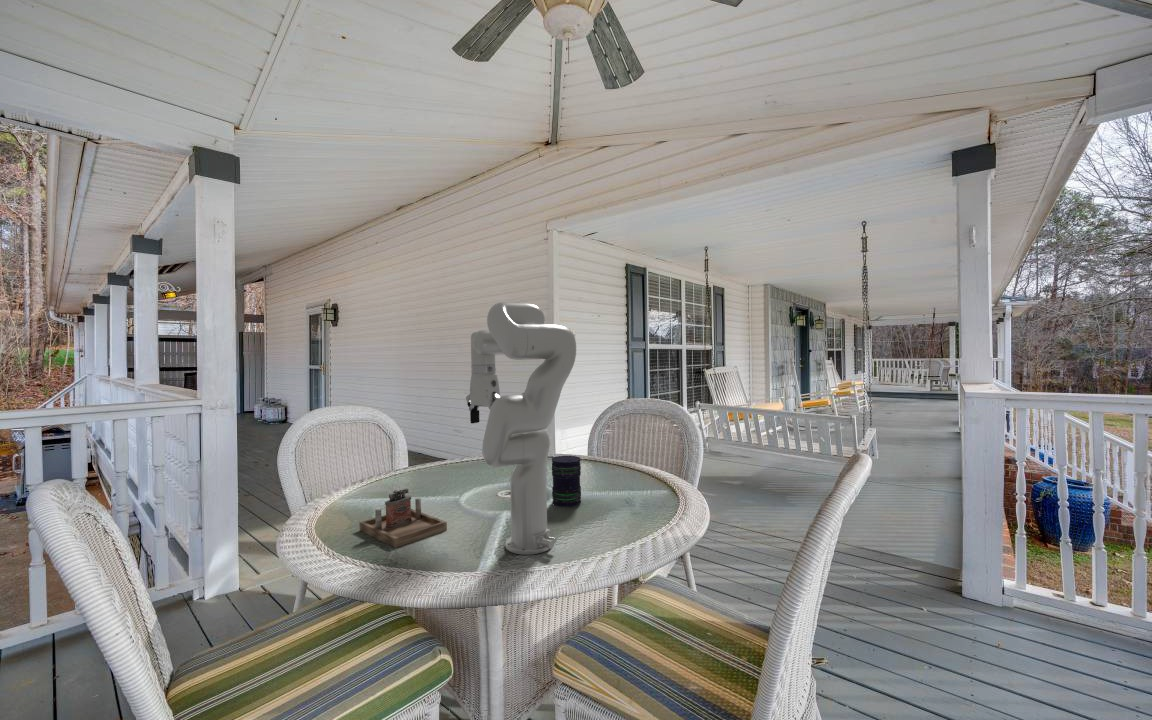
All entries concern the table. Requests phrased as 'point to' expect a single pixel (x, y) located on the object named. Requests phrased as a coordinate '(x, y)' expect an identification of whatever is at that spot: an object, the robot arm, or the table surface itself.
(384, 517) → the pin tray
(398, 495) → the lighter
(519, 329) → the robot arm
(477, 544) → the table surface
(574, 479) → the storage jar
